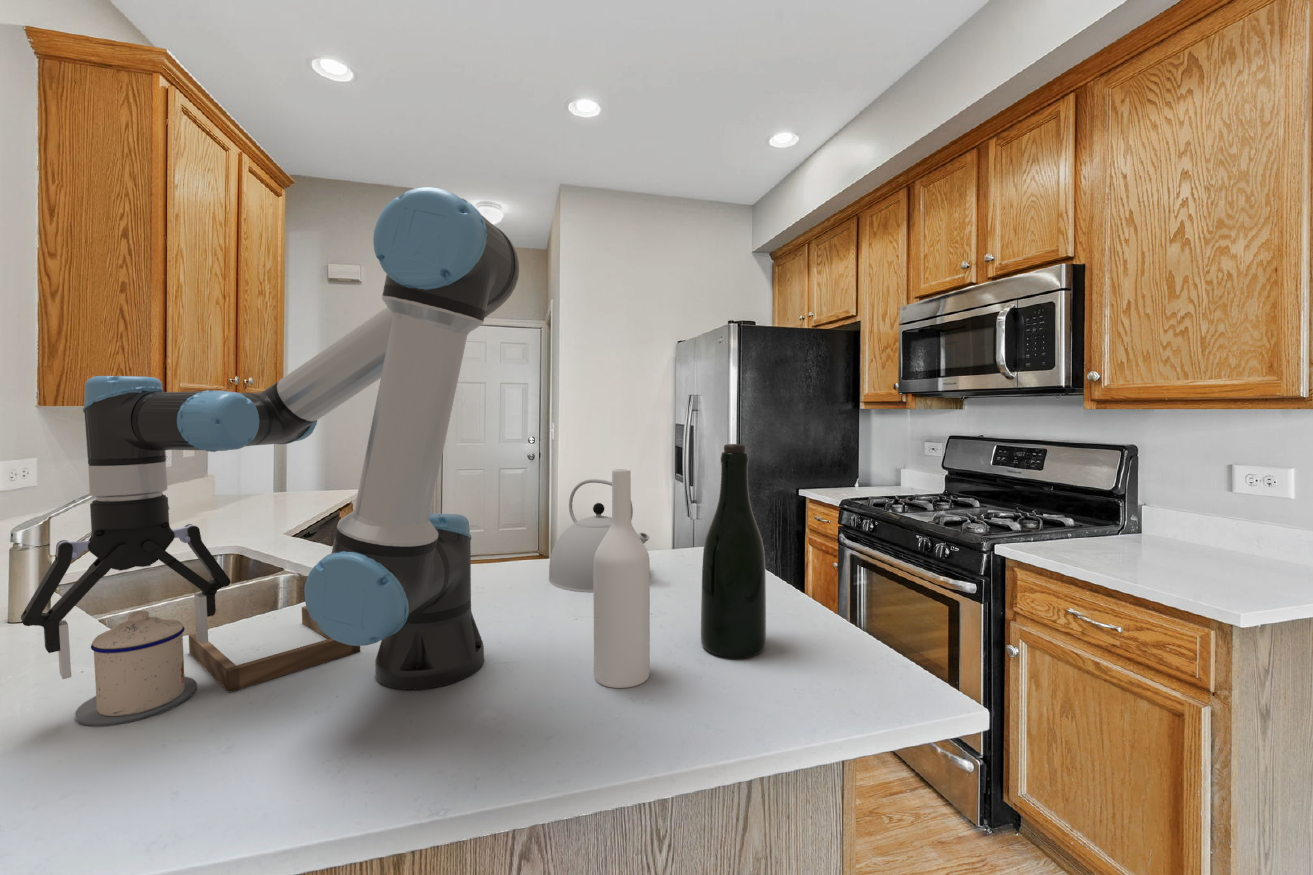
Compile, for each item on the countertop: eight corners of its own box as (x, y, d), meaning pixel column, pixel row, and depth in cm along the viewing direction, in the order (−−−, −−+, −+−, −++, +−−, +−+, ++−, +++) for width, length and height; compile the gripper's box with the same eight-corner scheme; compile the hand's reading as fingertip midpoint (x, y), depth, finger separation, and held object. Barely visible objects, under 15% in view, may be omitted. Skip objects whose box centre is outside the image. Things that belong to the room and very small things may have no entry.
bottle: (638, 659, 90) (638, 465, 89) (657, 682, 83) (658, 471, 81) (587, 668, 87) (586, 467, 86) (602, 692, 80) (601, 473, 78)
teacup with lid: (203, 689, 79) (200, 604, 79) (125, 724, 71) (120, 629, 70) (143, 676, 83) (139, 595, 82) (61, 708, 74) (56, 618, 74)
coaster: (208, 698, 78) (208, 694, 78) (83, 737, 69) (83, 732, 69) (184, 672, 86) (184, 668, 86) (69, 704, 77) (68, 700, 77)
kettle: (675, 574, 137) (675, 478, 135) (618, 601, 117) (617, 490, 116) (591, 559, 150) (590, 471, 149) (527, 581, 131) (526, 481, 130)
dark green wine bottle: (687, 646, 95) (688, 444, 94) (727, 629, 103) (728, 441, 101) (739, 666, 88) (741, 447, 86) (778, 646, 95) (781, 444, 94)
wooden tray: (360, 651, 93) (359, 632, 93) (229, 692, 80) (228, 670, 80) (309, 621, 106) (308, 605, 106) (189, 652, 93) (188, 634, 92)
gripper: (235, 483, 88) (241, 622, 89) (-19, 506, 69) (-7, 683, 70) (252, 487, 83) (258, 634, 84) (-15, 513, 64) (-3, 702, 65)
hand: (138, 656), depth 77 cm, fingers open, 13 cm apart
